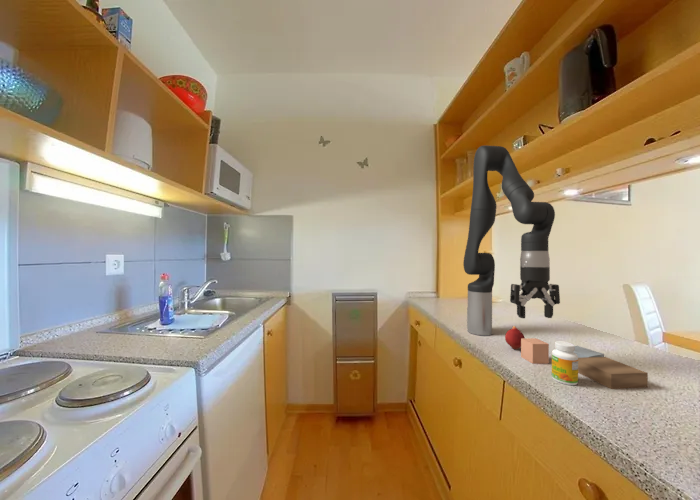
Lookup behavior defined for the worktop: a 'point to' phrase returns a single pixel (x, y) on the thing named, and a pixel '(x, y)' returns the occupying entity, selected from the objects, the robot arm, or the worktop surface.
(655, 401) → the worktop surface
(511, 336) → the red oval lump
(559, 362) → the supplement bottle
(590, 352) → the slate block
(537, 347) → the terracotta block
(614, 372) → the walnut block
